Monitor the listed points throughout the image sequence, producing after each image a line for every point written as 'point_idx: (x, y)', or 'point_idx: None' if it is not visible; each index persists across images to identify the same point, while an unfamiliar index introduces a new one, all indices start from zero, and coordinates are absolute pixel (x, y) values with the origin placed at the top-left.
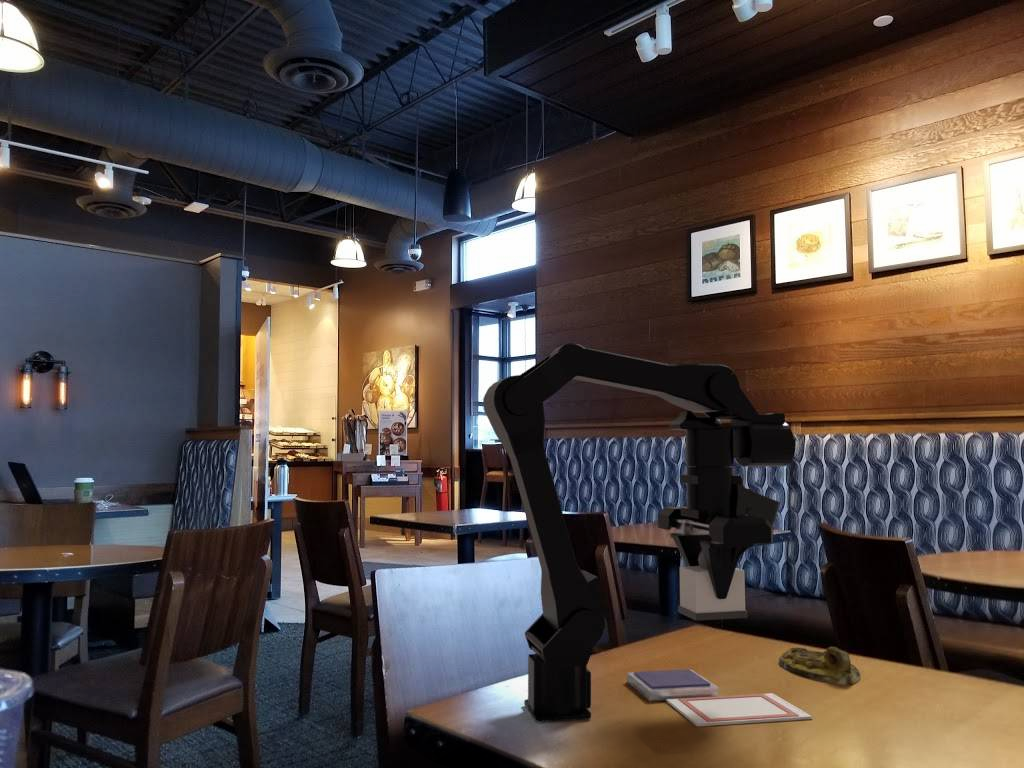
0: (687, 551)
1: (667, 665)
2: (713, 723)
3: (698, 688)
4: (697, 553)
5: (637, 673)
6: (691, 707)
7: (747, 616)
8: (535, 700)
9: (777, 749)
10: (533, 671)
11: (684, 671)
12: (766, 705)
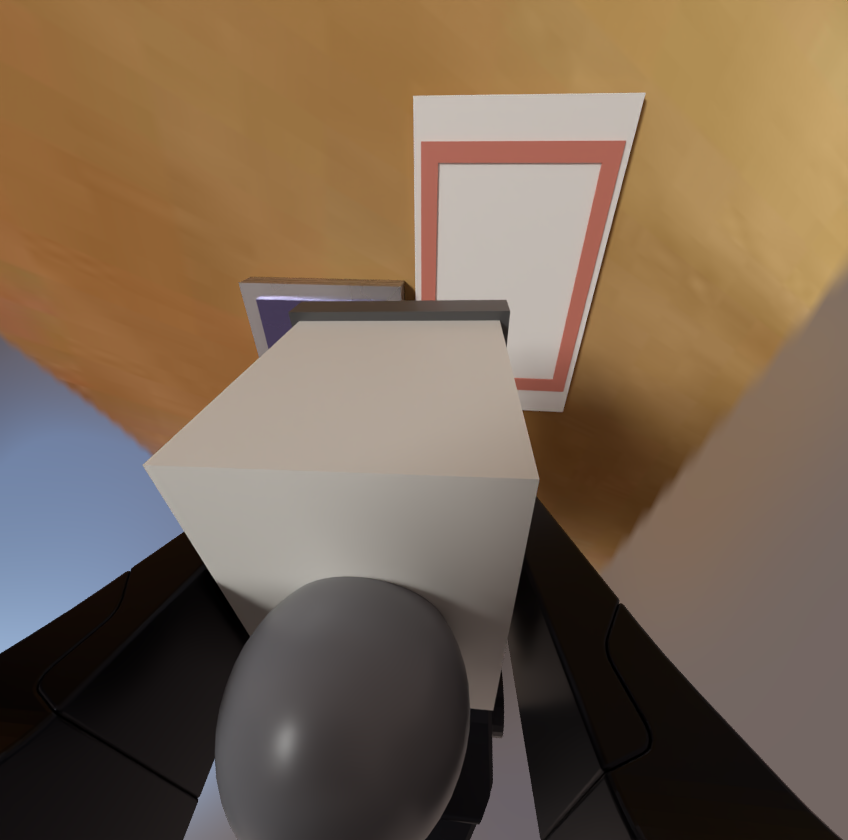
0: (190, 789)
1: (134, 284)
2: (570, 381)
3: None
4: (170, 738)
5: None
6: None
7: (506, 302)
8: None
9: (741, 325)
10: None
11: (277, 319)
12: (512, 193)
